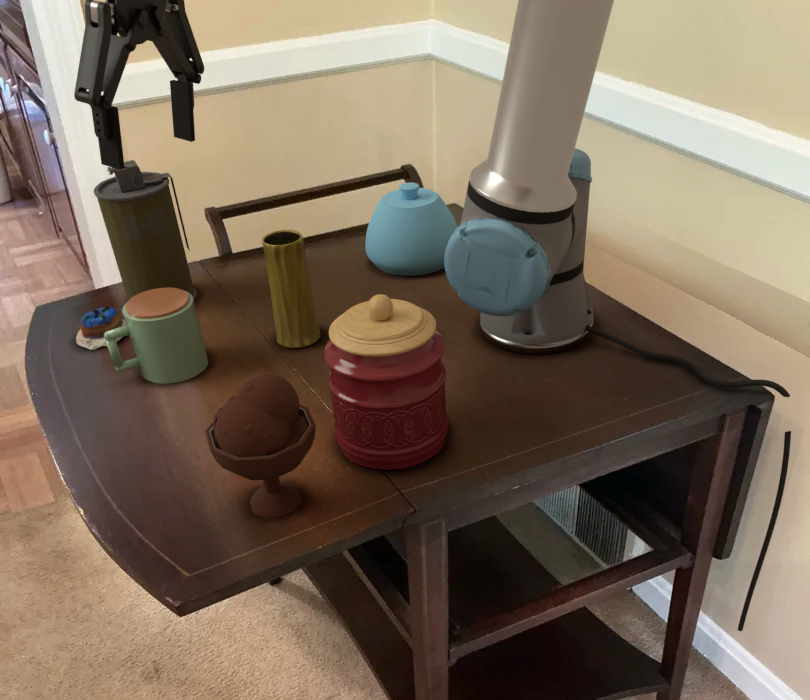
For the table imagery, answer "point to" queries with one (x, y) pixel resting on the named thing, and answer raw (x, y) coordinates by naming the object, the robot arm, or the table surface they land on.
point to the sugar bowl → (409, 231)
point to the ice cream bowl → (263, 440)
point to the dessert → (98, 327)
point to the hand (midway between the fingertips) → (150, 152)
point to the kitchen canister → (387, 383)
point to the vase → (290, 289)
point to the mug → (161, 336)
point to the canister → (144, 230)
